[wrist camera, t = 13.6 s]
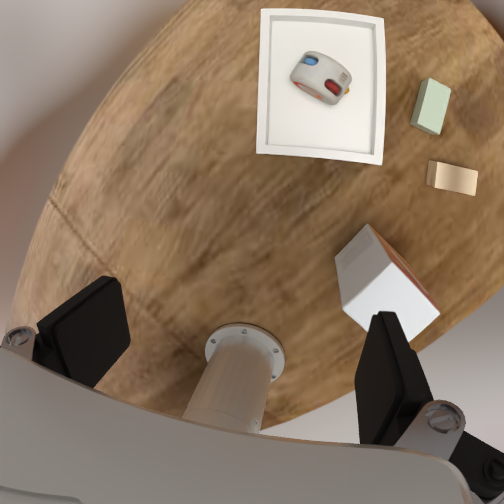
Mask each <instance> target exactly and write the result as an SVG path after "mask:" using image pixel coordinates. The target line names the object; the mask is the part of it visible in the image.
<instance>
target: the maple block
mask: <svg viewBox="0 0 504 504" xmlns="http://www.w3.org/2000/svg"><path fill="white" fill-rule="evenodd" d="M477 176H478V171H474V170H470V169H466V168H462V167H458V166H454V165H449V164H445V163H440V162H436V161H431V160H429V164H428V173H427V182H426V184H428V185H430V186H432V187H435V188H440V189H445V190H450V191H455V192H460V193H464V194H469V195H474V196H475V191H476V184H477Z"/></svg>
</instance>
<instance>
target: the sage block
mask: <svg viewBox="0 0 504 504" xmlns="http://www.w3.org/2000/svg"><path fill="white" fill-rule="evenodd" d="M450 92H451V89H449V88H448V87H446V86H444V85H442V84H440V83H439V82H437V81H435V80H433V79H431V78H428V79H426V80H424V81H422V82H421V85H420V89H419V93H418V97H417V101H416V104H415V108H414V111H413V115H412V118H411V122H410V125H412V126H415V127H417V128H419V129H421V130H423V131H425V132H427V133H429V134H431V135H432V134H440V131H441V127H442V124H443V120H444V116H445V112H446V109H447V105H448V101H449V96H450Z"/></svg>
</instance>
